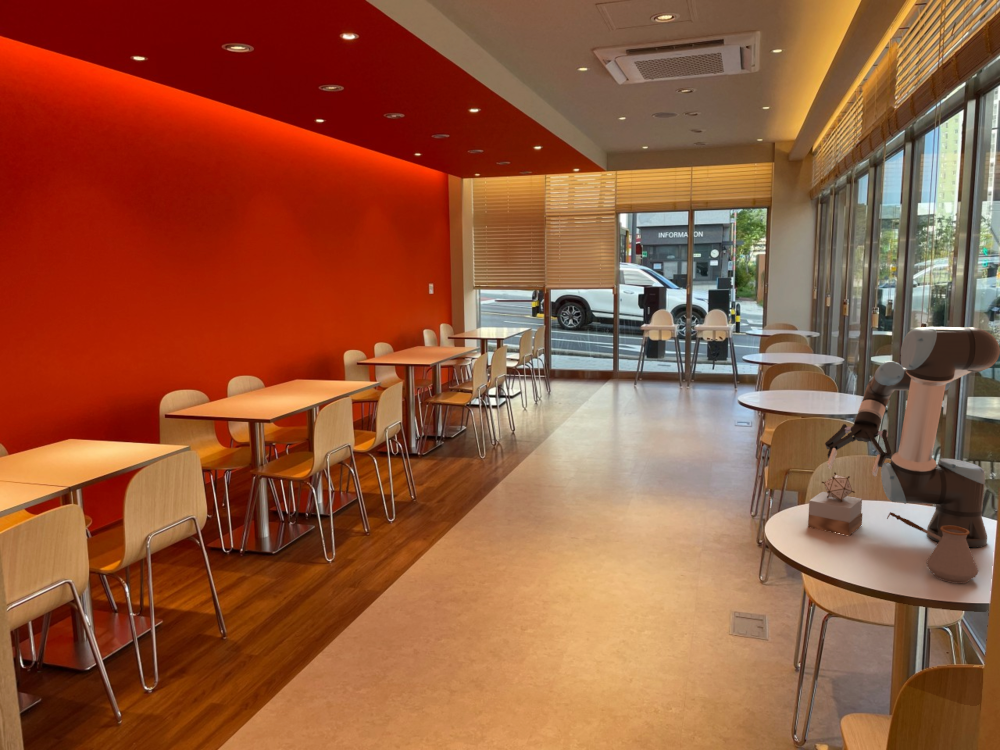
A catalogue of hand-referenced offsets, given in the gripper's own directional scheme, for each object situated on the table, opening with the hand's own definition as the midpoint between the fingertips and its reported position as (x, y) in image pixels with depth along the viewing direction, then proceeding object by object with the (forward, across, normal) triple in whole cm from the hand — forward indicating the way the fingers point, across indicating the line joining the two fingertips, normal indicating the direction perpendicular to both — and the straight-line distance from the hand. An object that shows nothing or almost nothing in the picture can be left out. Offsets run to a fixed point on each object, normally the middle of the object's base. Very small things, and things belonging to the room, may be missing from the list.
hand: (851, 470), depth 236 cm
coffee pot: (+34, -31, +11) cm, 47 cm away
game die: (+13, 0, +2) cm, 13 cm away
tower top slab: (+16, 0, -1) cm, 16 cm away
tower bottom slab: (+19, 0, -4) cm, 20 cm away
